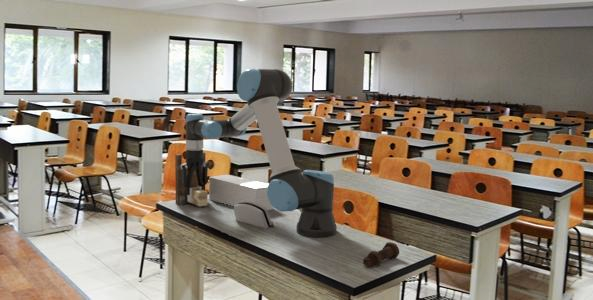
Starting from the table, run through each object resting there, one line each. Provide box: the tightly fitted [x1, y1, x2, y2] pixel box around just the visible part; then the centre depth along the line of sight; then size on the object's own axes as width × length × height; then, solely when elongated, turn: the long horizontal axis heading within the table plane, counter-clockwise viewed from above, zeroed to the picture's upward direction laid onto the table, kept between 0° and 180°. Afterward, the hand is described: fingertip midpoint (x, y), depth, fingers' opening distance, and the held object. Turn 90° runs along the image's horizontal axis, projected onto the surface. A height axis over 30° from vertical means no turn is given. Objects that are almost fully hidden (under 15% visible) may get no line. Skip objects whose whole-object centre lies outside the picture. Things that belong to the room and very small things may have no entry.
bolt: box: [362, 241, 400, 268], centre depth 174 cm, size 6×5×15 cm
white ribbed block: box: [208, 174, 275, 211], centre depth 244 cm, size 32×11×11 cm, turn 46°
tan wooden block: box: [186, 186, 209, 207], centre depth 240 cm, size 12×4×6 cm, turn 40°
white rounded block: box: [233, 201, 275, 229], centre depth 213 cm, size 17×5×10 cm, turn 51°
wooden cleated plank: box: [174, 151, 206, 206], centre depth 244 cm, size 4×14×22 cm, turn 130°
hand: (194, 201), depth 241 cm, fingers closed on tan wooden block, 4 cm apart
